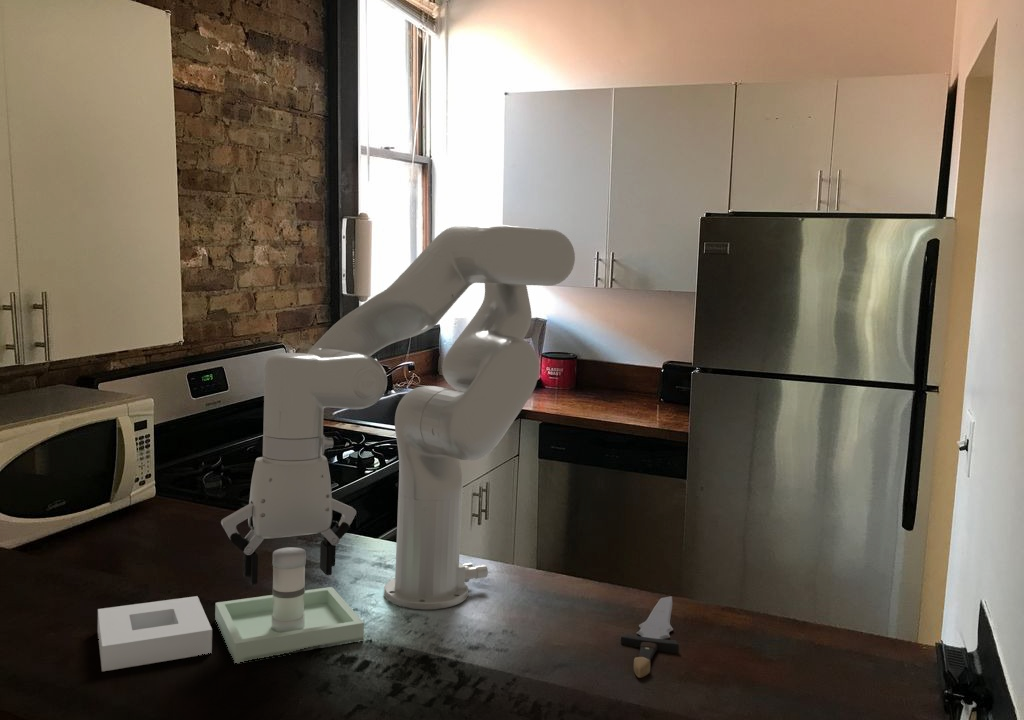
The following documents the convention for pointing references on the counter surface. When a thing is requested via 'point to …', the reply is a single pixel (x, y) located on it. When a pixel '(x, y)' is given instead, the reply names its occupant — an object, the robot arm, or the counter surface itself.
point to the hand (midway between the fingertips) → (289, 576)
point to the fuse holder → (152, 632)
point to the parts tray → (254, 637)
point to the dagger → (652, 637)
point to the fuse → (288, 589)
